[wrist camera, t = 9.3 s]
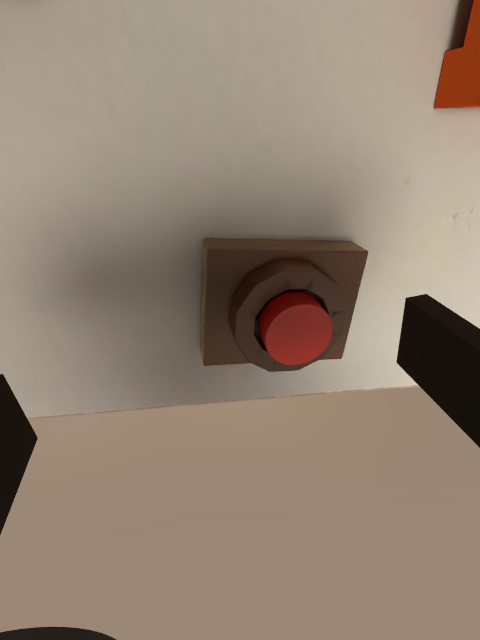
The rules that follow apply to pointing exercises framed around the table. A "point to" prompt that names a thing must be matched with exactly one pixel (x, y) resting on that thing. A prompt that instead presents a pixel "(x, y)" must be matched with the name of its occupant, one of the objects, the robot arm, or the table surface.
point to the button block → (273, 293)
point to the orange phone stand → (462, 69)
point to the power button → (294, 328)
